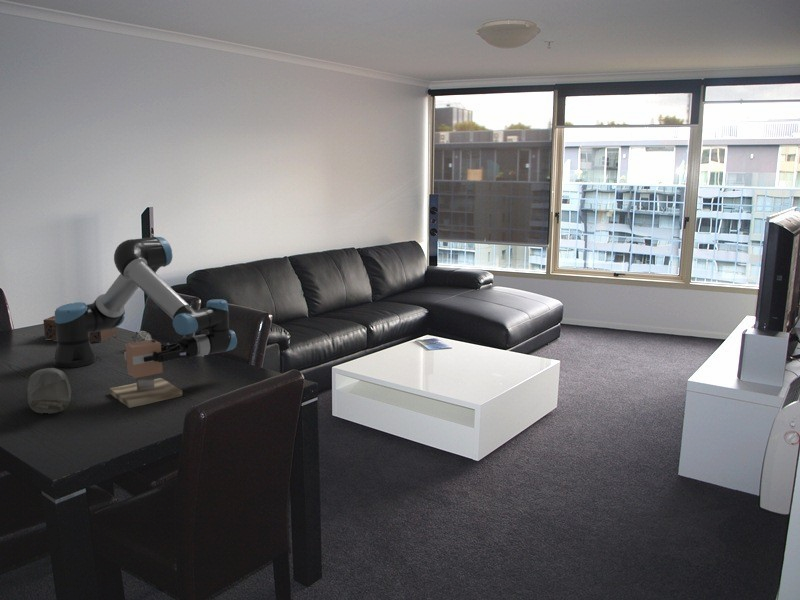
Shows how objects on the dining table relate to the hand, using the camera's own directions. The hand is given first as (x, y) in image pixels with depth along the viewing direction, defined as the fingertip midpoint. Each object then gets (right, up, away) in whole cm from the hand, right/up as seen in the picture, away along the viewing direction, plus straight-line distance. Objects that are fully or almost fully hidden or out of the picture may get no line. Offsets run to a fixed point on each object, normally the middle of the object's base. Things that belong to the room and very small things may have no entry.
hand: (129, 358), depth 219 cm
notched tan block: (+4, -5, +4) cm, 8 cm away
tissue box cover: (-56, +2, +82) cm, 99 cm away
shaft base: (+3, -13, +6) cm, 15 cm away
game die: (-21, -2, +65) cm, 68 cm away
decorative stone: (-22, -16, -8) cm, 28 cm away
